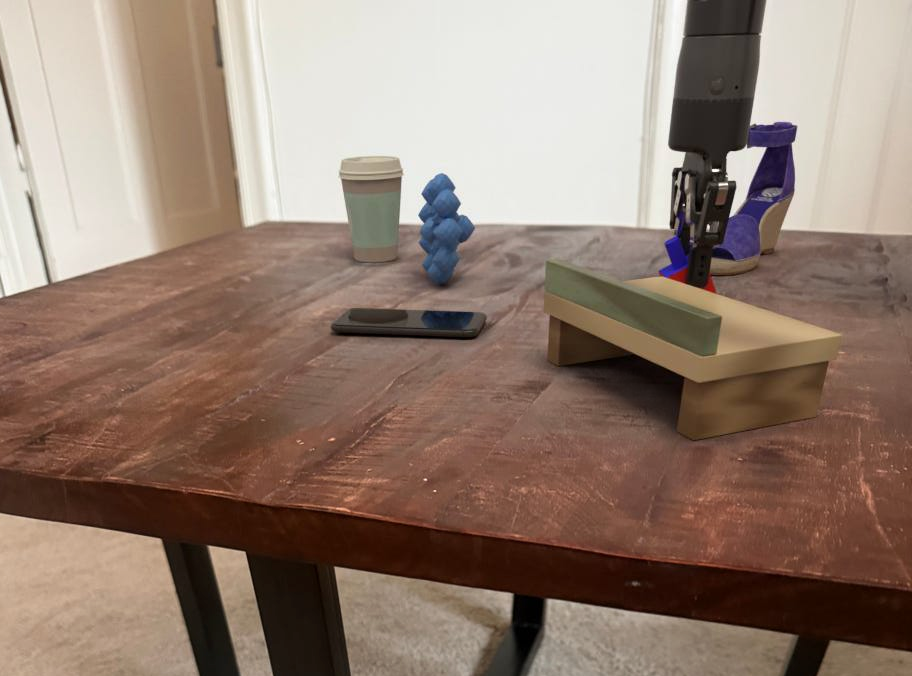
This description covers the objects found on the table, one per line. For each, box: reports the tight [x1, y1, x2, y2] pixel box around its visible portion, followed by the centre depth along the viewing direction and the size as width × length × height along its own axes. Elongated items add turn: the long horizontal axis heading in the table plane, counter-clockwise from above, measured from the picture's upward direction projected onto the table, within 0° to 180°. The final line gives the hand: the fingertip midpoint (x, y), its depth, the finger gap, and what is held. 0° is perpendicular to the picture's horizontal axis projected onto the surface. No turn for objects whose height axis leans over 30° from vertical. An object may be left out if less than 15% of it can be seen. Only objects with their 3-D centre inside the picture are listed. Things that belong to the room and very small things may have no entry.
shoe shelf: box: [543, 258, 843, 441], centre depth 69 cm, size 12×22×8 cm, turn 22°
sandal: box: [710, 121, 798, 276], centre depth 107 cm, size 8×20×15 cm, turn 133°
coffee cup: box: [338, 155, 405, 264], centre depth 116 cm, size 9×9×12 cm
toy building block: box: [658, 236, 718, 294], centre depth 92 cm, size 4×4×8 cm
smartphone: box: [330, 307, 488, 338], centre depth 88 cm, size 7×1×15 cm
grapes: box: [417, 172, 476, 285], centre depth 102 cm, size 12×7×12 cm, turn 13°
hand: (688, 281), depth 93 cm, fingers open, 4 cm apart
